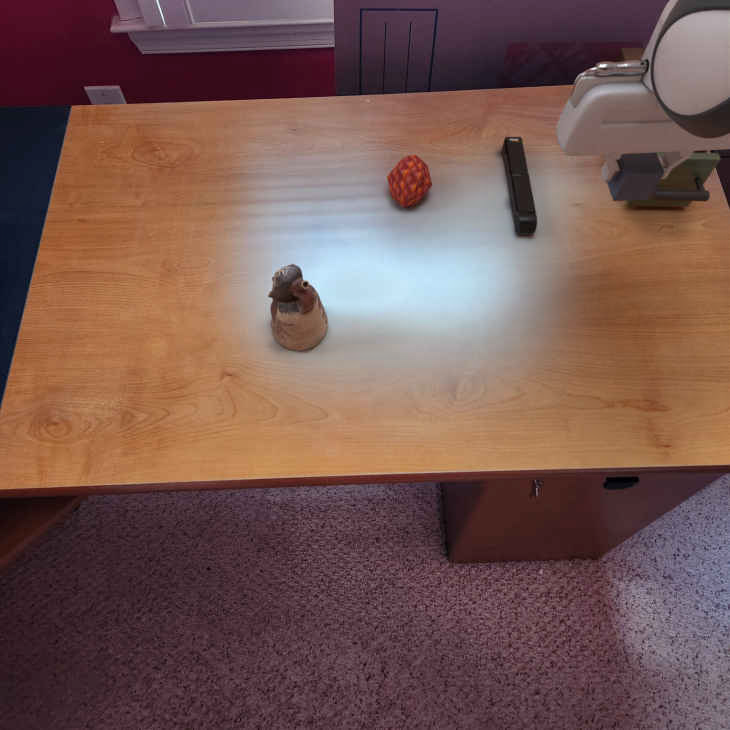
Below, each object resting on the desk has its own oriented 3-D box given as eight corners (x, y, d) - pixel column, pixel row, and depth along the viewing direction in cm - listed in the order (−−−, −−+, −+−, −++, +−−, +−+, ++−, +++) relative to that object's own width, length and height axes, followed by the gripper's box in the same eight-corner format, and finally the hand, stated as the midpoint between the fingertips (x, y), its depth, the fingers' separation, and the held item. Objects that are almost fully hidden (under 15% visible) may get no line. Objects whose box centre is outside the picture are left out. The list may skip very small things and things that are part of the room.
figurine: (304, 296, 78) (294, 237, 67) (339, 329, 75) (334, 273, 65) (262, 326, 75) (245, 270, 65) (296, 362, 73) (284, 309, 62)
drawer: (694, 227, 82) (729, 181, 74) (632, 226, 82) (659, 180, 74) (669, 145, 89) (697, 95, 82) (611, 145, 89) (635, 95, 82)
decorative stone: (385, 211, 88) (399, 162, 88) (428, 218, 86) (441, 167, 86) (375, 194, 81) (389, 141, 82) (420, 201, 79) (435, 146, 80)
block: (638, 173, 66) (653, 145, 63) (648, 199, 65) (664, 172, 61) (604, 175, 66) (617, 147, 63) (613, 201, 64) (627, 174, 61)
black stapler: (533, 238, 82) (539, 223, 79) (515, 238, 82) (520, 223, 79) (517, 148, 90) (521, 132, 88) (500, 148, 90) (504, 133, 88)
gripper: (590, 87, 50) (545, 201, 62) (820, 77, 51) (731, 193, 63) (573, 41, 53) (534, 159, 65) (791, 33, 53) (711, 152, 66)
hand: (632, 176), depth 64 cm, fingers closed on block, 4 cm apart
